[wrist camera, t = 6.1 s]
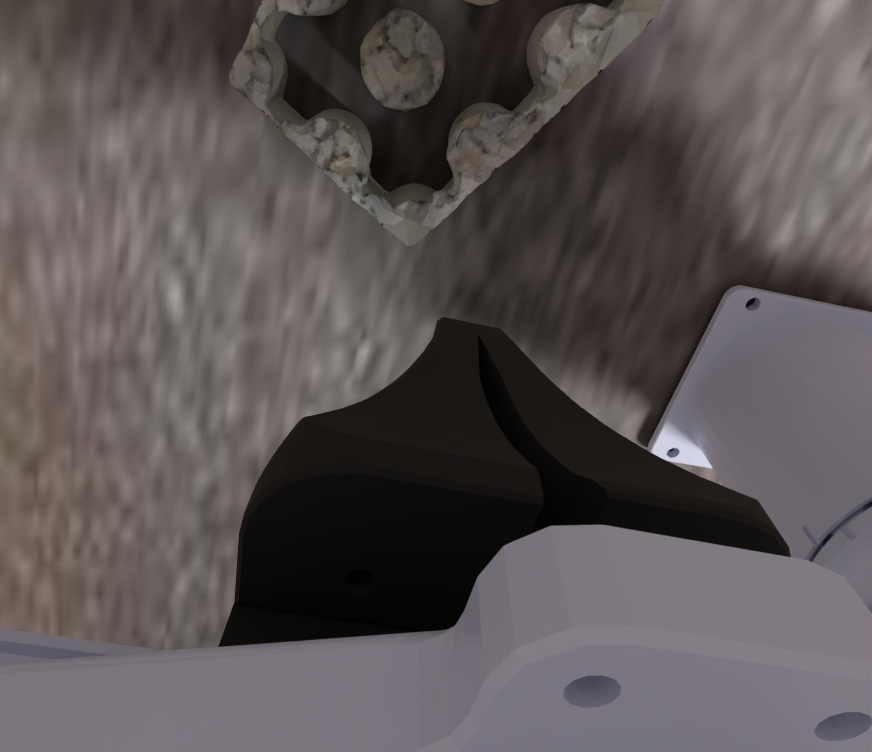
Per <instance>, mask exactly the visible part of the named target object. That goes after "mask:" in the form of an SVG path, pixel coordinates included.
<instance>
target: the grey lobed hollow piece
mask: <svg viewBox="0 0 872 752" xmlns="http://www.w3.org/2000/svg"><path fill="white" fill-rule="evenodd" d="M347 1H348V0H262V2H261V5H260V7H259V9H258V11H257V13H256V15H255V18H254V21H253V23H252V26H251V29H250V31H249V34H248V37H247V39H246V41H245V44H244V46H243V48H242V49H241V51H240V52H239V53H238V55H237V57H236V59H235V61H234V63H233V66H232V68H231V71H230V74H229V81H230V83H231V84H232V86H233V87H235V88H236V89H237V90H238V91H239V92H240V93H241V94H242V95H243V96H245V97H247V98H248V99H250V100H251V101H252V102H253V103H254V104H255V105H256V106H257V107H259V108H260V109H261V110H262V111H263V112H264V113H265V114H266V115H267V116H268V117H269V118H270V119H271V120H272V121H273V122H274V123H275V124H276V126H277V128H278V129H279V130H280V131H281V132H282V133H283V134H284V135H285V136H286V137H287V138H288V139H289V140H291V141H292V142H293V143H294V144H295V145H297V146H298V147H299V148H300V149H301V150H302V151H303V152H304V153H305V154H306V155H307V156H308V157H309V158H310V159H311V160H312V161H313V162H314V163H315V164H316V165H317V166H318V167H319V168H320V169H321V170H322V171H323V172H324V173H325V174H327V175H328V176H329V177H330V178H331V179H332V180H333V181H334V182H335V183H336V184H337V185H338V186H339V187H340V188H341V189H342V190H343V191H344V192H345V193H346V194H347V195H348V196H349V197H350V198H351V199H352V200H353V201H355V202H356V203H357V204H358V205H360V206H361V207H363V208H364V209H366V210H367V211H368V212H369V213H370V214H371V215H372V216H373V217H374V218H375V219H376V220H377V221H378V222H379V223H380V224H381V225H382V226H383V227H384V228H385V229H386V230H387V231H388V232H390V233H391V234H392V235H394V236H395V237H396V238H397V239H399V240H400V241H401V242H403V243H404V244H405V245H406V246H408V247H410V246H413V245H415V244H417V243H418V242H419V241H420V240H421V239H423V238H424V237H425V236H426V235H427V234H428V233H430V232H431V231H432V230H433V229H434V228H435V227H436V226H438V225H439V224H440V223H441V222H442V221H443V220H444V219H445V218H446V217H447V216H449V215H450V214H451V213H452V212H453V211H454V210H455V209H456V208H457V207H458V206H459V205H460V203H461V202H462V201H463V200H464V199H465V198H466V197H467V196H468V195H469V194H470V193H471V192H472V191H473V190H474V189H475V188H477V187H478V186H479V185H480V184H482V183H484V182H485V181H486V180H487V179H488V178H489V176H490V175H491V174H492V172H493V171H495V170H496V169H497V168H498V167H499V166H501V165H502V164H503V163H504V162H506V161H507V160H508V159H510V158H511V157H513V156H514V155H515V154H516V153H518V152H519V151H520V150H521V149H522V148H523V147H524V146H525V145H526V144H527V143H528V142H529V141H530V139H531V138H532V137H533V136H534V135H535V134H536V133H537V132H538V131H539V130H540V129H541V128H542V127H543V126H544V125H545V124H546V123H547V122H548V121H549V120H550V119H551V118H552V117H554V116H555V115H556V114H557V113H558V112H559V111H560V110H561V109H562V108H563V107H565V106H566V105H567V103H568V102H569V101H570V100H571V99H572V98H573V97H574V96H575V95H576V94H577V93H578V92H579V91H580V90H581V89H582V88H583V87H584V86H585V85H586V84H588V83H589V82H590V81H591V80H592V79H593V78H595V77H596V76H597V75H598V74H599V73H600V72H601V71H602V70H603V69H604V68H605V67H606V66H607V65H608V64H610V63H611V62H612V61H613V60H614V59H615V58H616V57H617V56H618V55H619V54H620V53H621V52H622V51H623V50H624V49H625V48H626V47H627V46H628V45H629V44H630V43H631V42H632V41H633V40H635V39H636V38H637V37H638V36H639V35H640V34H641V32H642V31H643V30H644V29H645V28H646V26H647V25H648V24H649V23H650V22H651V20H652V19H653V18H654V17H655V16H656V14H657V13H658V12H659V10H660V8H661V6H662V4H663V2H664V0H613V1H612V2H611V3H610V4H609V5H608V7H607V8H605V7H602V6H599V5H595V4H592V3H582V4H580V3H577V4H574V5H570V6H565V7H560V8H558V9H556V10H553V11H552V12H550V13H548V14H547V15H545V16H544V17H543V18H541V19H540V21H539V22H538V24H537V25H536V26H535V27H534V29H533V32H532V34H531V36H530V39H529V41H528V45H527V52H526V57H527V67H528V69H529V72H530V75H531V78H532V81H533V84H534V87H533V89H532V90H531V91H530V93H529V94H528V95H527V96H526V97H525V98H524V99H523V100H522V101H521V102H520V104H519V105H518V106H517V107H516V108H515V109H514V110H512V111H509V110H507V109H505V108H504V107H502V106H501V105H498V104H495V103H489V102H481V103H476V104H473V105H471V106H469V107H468V108H466V109H465V110H464V111H462V112H461V113H460V114H459V115H458V116H457V118H456V119H455V120H454V122H453V124H452V125H451V129H450V131H449V138H448V148H447V160H448V163H449V165H450V167H451V170H452V172H453V178H452V179H451V180H450V181H449V182H448V183H447V184H446V185H445V186H444V187H443V189H442V190H440V191H435V190H434V189H432V188H430V187H428V186H425V185H422V184H416V183H411V184H407V185H403V186H401V187H398V188H396V189H395V190H393V191H391V192H388V191H386V190H384V189H383V188H382V186H381V185H379V184H378V183H377V182H376V181H375V180H374V179H373V177H372V176H371V169H370V168H369V167H370V162H371V157H372V142H371V137H370V133H369V131H368V129H367V127H366V126H365V124H364V123H363V122H362V120H361V119H360V118H358V117H357V116H356V115H354V114H352V113H350V112H349V111H346V110H341V109H328V110H324V111H322V112H320V113H318V114H317V115H315V116H314V117H312V118H311V119H309V120H306V119H304V118H303V117H302V116H301V115H300V114H299V113H298V112H297V111H296V110H294V109H293V108H292V107H291V106H290V105H289V104H288V103H287V102H286V101H285V100H284V99H283V96H284V91H285V87H286V82H287V77H288V69H287V62H286V59H285V56H284V53H283V51H282V49H281V48H280V46H279V44H278V43H277V41H276V39H275V35H276V32H277V29H278V27H279V25H280V23H281V22H282V20H283V18H284V17H285V16H286V14H287V13H288V12H289V13H292V14H294V15H302V16H309V15H311V16H323V15H332V14H333V13H335V12H336V11H337V10H338V9H340V8H341V7H342V6H344V5H345V4H346V2H347ZM464 1H466V2H468V3H472V4H475V5H478V6H484V5H490V4H494V3H496V2H498V1H500V0H464ZM360 59H361V72H362V76H363V80H364V82H365V84H366V86H367V88H368V89H369V91H370V92H371V94H372V95H373V96H374V97H375V98H376V99H377V100H378V101H379V102H380V103H381V104H382V105H383V106H385V107H388V108H392V109H396V110H399V109H400V110H403V111H405V112H406V111H409V110H412V109H415V108H418V107H421V106H424V105H427V104H428V103H429V102H430V100H431V99H432V98H433V97H434V95H435V94H436V93H437V92H438V90H439V88H440V85H441V82H442V79H443V75H444V69H445V52H444V47H443V44H442V41H441V38H440V37H439V35H438V33H437V31H436V30H435V29H434V28H433V27H432V26H431V25H430V24H429V23H428V22H427V21H426V20H425V19H424V18H422V17H421V16H419V15H417V14H416V13H414V12H413V11H411V10H407V9H404V8H402V7H399V8H396V9H393V10H392V11H391V12H390V13H388V14H387V16H386V17H385V18H383V19H381V20H379V21H378V22H377V23H376V24H375V25H374V26H373V27H372V29H371V30H370V31H369V32H368V33H367V35H366V36H365V38H364V40H363V43H362V45H361V47H360ZM360 78H361V77H360Z"/></svg>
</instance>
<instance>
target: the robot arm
mask: <svg viewBox="0 0 872 752" xmlns="http://www.w3.org/2000/svg"><path fill="white" fill-rule="evenodd" d="M752 298H755V302H754V303H753V304H752V305H750V306H746V303H747V302H748V301H749V300H750V299H752ZM745 306H746V307H745ZM672 448H675V449H674V450H673V451H671V452H668V450H669V449H672ZM668 461H671V462H677V463H683V464H689V465H695V466H701V467H707V468H713V469H714V471H715V472H716V474H717V476H718V477H719V479H720V480H721V482H722V483H723V485H724V486H722V485H719V484H717V483H714V482H712V481H709V480H707V479H704V478H702V477H699V476H697V475H695V474H693V473H691V472H689V471H686V470H684V469H682V468H680V467H678V466H676V465H674V464H672V463H670V462H668ZM0 752H872V312H869V311H864V310H859V309H855V308H850V307H845V306H840V305H835V304H830V303H825V302H820V301H816V300H811V299H806V298H801V297H796V296H791V295H786V294H782V293H777V292H772V291H767V290H762V289H757V288H752V287H747V286H743V285H737V286H734V287H731V288H730V289H729V290H727V291H726V293H725V294H724V295H723V297H722V299H721V301H720V303H719V305H718V307H717V309H716V311H715V313H714V315H713V317H712V319H711V321H710V323H709V325H708V327H707V329H706V331H705V333H704V335H703V337H702V339H701V341H700V343H699V345H698V347H697V349H696V351H695V353H694V355H693V357H692V359H691V361H690V363H689V365H688V367H687V369H686V371H685V373H684V375H683V377H682V379H681V380H680V382H679V384H678V386H677V388H676V390H675V392H674V394H673V396H672V398H671V400H670V402H669V404H668V406H667V408H666V410H665V412H664V414H663V416H662V418H661V420H660V422H659V424H658V426H657V428H656V430H655V432H654V434H653V436H652V438H651V440H650V442H649V444H648V451H647V450H645V449H643V448H642V447H640V446H638V445H637V444H635V443H633V442H632V441H630V440H628V439H627V438H625V437H623V436H622V435H620V434H618V433H617V432H615V431H614V430H612V429H611V428H609V427H608V426H606V425H605V424H603V423H602V422H600V421H599V420H598V419H596V418H595V417H594V416H592V415H591V414H590V413H588V412H587V411H586V410H584V409H583V408H581V407H580V406H579V405H578V404H576V403H575V402H574V401H573V400H572V399H570V398H569V397H568V396H567V395H566V394H565V393H564V392H563V391H561V390H560V389H559V388H558V387H557V386H556V385H555V384H554V383H553V382H551V381H550V380H549V379H548V378H547V377H546V376H545V375H544V374H543V373H542V372H541V371H540V370H539V369H538V368H537V367H536V366H535V365H534V364H533V362H532V361H531V360H530V359H529V358H528V357H527V356H526V355H525V354H524V353H523V352H522V351H521V350H520V349H519V348H518V346H517V345H516V344H515V343H514V342H513V341H512V340H511V339H510V338H509V337H508V336H507V335H506V334H505V333H504V332H503V331H502V330H500V329H498V328H493V327H488V326H484V325H479V324H474V323H469V322H464V321H460V320H455V319H450V318H445V317H443V318H441V319H440V320H438V321H437V324H436V328H435V332H434V336H433V338H432V340H431V341H430V343H429V344H428V346H427V347H426V349H425V350H424V352H423V353H422V354H421V355H420V356H419V358H418V359H417V360H416V361H415V362H414V363H413V364H412V365H411V366H410V368H409V369H408V370H406V371H405V372H404V373H403V374H402V375H401V376H400V377H399V378H397V379H396V380H395V381H394V382H392V383H391V384H390V385H388V386H387V387H385V388H384V389H382V390H381V391H379V392H378V393H376V394H375V395H373V396H371V397H369V398H368V399H365V400H363V401H361V402H359V403H356V404H353V405H351V406H348V407H345V408H342V409H338V410H334V411H330V412H326V413H321V414H317V415H313V416H307V417H304V418H302V419H301V420H300V421H299V422H298V423H297V425H296V426H295V427H294V428H293V430H292V431H291V432H290V433H289V435H288V436H287V437H286V438H285V440H284V441H283V442H282V444H281V445H280V446H279V448H278V449H277V451H276V452H275V453H274V455H273V456H272V458H271V460H270V461H269V463H268V464H267V466H266V468H265V469H264V471H263V473H262V474H261V476H260V478H259V480H258V482H257V484H256V486H255V488H254V490H253V493H252V495H251V498H250V500H249V503H248V505H247V508H246V510H245V513H244V517H243V520H242V524H241V528H240V532H239V543H238V558H237V573H236V588H235V602H234V605H233V608H232V611H231V613H230V616H229V619H228V622H227V624H226V627H225V630H224V633H223V636H222V638H221V641H220V644H219V647H211V648H198V649H184V650H171V651H165V650H157V649H150V648H143V647H135V646H128V645H120V644H113V643H106V642H98V641H91V640H84V639H76V638H69V637H61V636H54V635H47V634H39V633H32V632H25V631H17V630H10V629H2V628H0Z"/></svg>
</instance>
